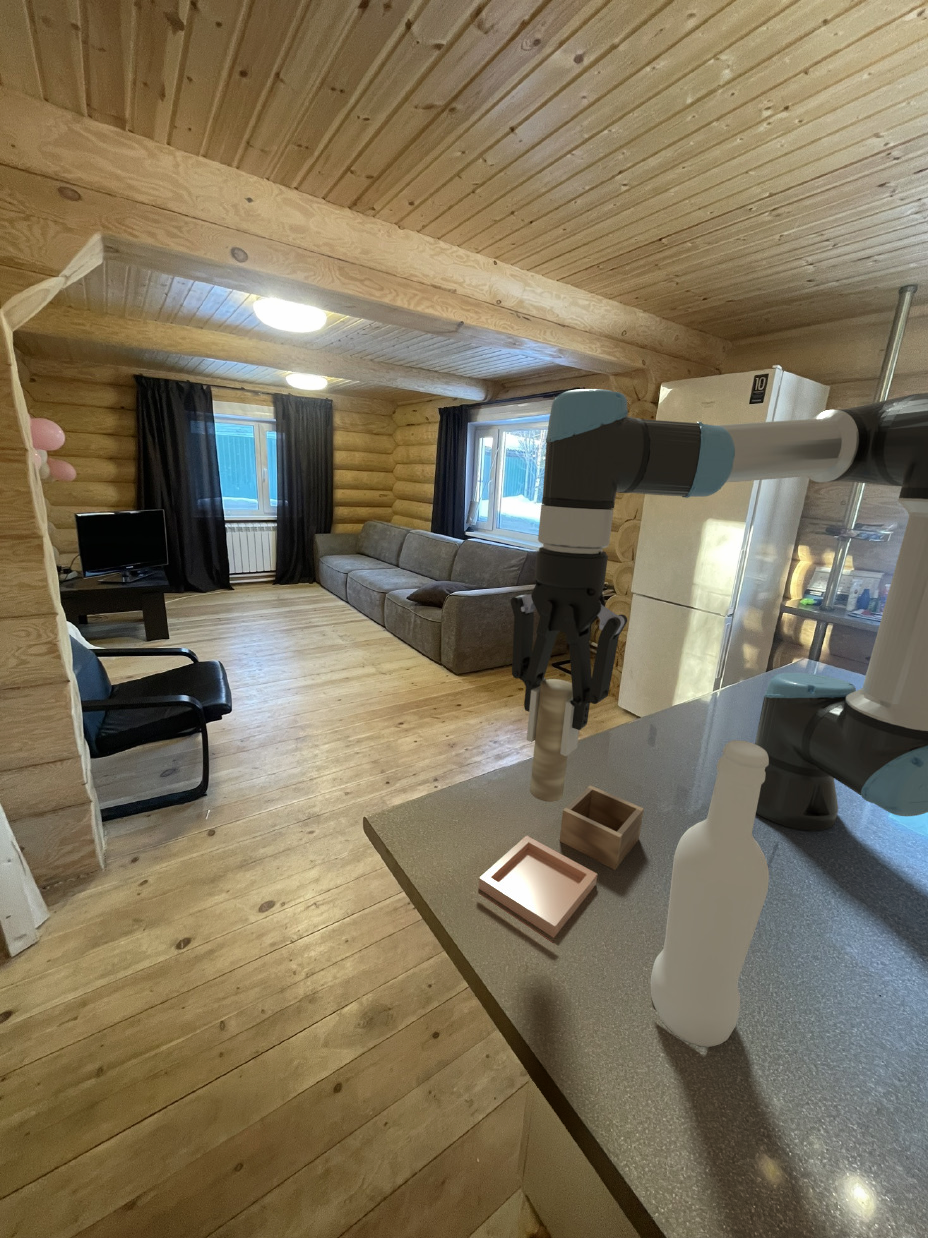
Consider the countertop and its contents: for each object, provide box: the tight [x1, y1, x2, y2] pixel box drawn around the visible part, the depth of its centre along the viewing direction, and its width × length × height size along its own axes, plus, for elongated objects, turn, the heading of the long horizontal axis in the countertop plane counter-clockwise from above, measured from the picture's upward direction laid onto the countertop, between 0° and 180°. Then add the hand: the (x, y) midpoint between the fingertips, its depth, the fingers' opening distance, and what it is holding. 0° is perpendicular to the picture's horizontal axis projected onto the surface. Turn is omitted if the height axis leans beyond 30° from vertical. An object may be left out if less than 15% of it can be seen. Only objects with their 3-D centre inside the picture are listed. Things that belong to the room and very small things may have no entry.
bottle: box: [650, 739, 770, 1048], centre depth 48 cm, size 8×8×30 cm
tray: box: [477, 835, 598, 944], centre depth 66 cm, size 11×11×2 cm
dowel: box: [529, 678, 573, 803], centre depth 61 cm, size 4×4×14 cm
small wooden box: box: [559, 785, 645, 871], centre depth 75 cm, size 9×9×6 cm
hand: (551, 743), depth 61 cm, fingers closed on dowel, 4 cm apart
